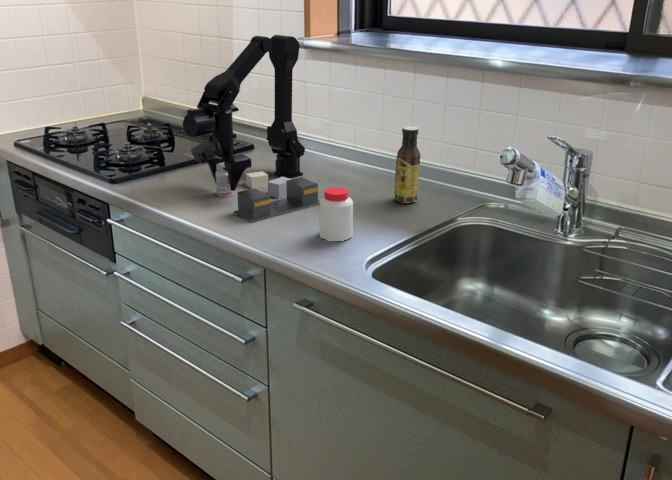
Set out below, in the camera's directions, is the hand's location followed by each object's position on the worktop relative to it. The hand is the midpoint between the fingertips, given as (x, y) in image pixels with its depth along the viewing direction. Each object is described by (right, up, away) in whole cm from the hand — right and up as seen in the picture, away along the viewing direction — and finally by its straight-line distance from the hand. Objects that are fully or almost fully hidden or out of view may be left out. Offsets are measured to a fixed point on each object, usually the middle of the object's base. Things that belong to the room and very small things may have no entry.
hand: (225, 187), depth 182 cm
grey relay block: (+15, -2, +2) cm, 15 cm away
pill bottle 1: (0, -2, +1) cm, 2 cm away
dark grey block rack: (+15, -6, -9) cm, 19 cm away
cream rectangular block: (+8, +1, +8) cm, 11 cm away
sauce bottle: (+49, -4, -2) cm, 49 cm away
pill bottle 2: (+30, -13, -25) cm, 41 cm away
